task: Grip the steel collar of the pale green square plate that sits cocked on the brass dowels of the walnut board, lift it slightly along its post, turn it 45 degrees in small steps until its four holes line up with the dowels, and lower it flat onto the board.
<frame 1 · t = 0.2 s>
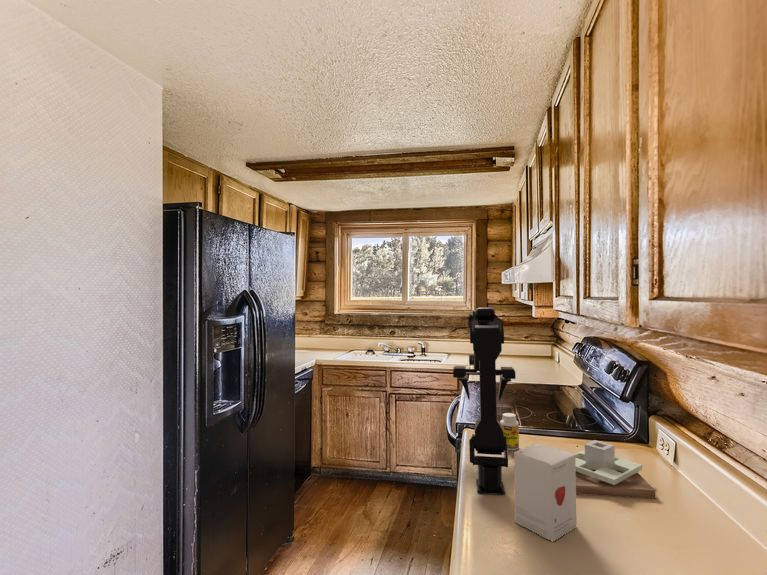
hand: (484, 399, 129), 15 cm above the worktop, tool pointing down, fingers open, 9 cm apart
supplement bottle: (509, 448, 128), on the worktop
walnut board: (600, 479, 106), on the worktop
supplement box: (545, 526, 85), on the worktop
flange plate: (599, 467, 106), point 3 cm above the worktop, touching walnut board
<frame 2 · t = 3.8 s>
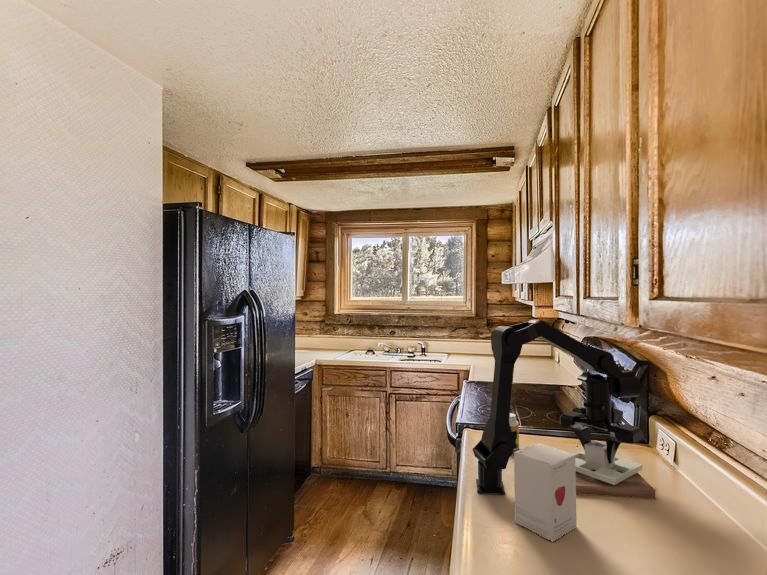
hand: (599, 459, 106), 5 cm above the worktop, tool pointing down, fingers closed on flange plate, 5 cm apart
flange plate: (599, 467, 106), point 3 cm above the worktop, touching gripper, walnut board
everything else where it was.
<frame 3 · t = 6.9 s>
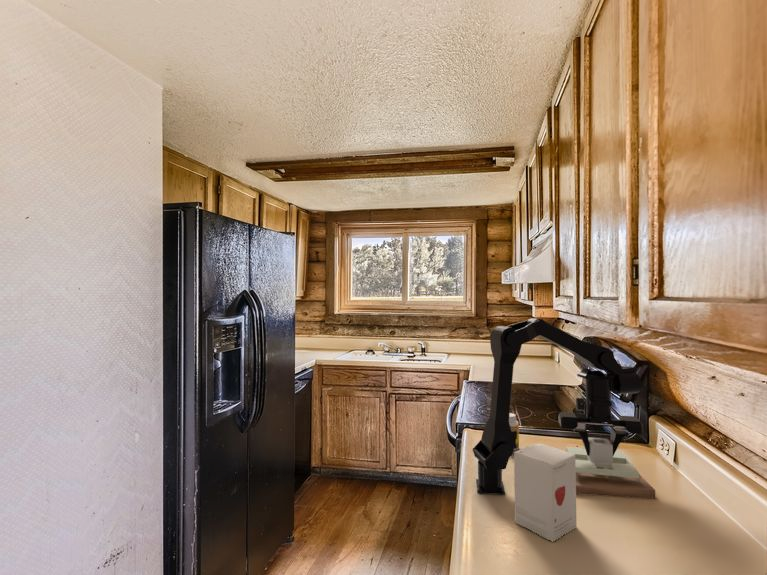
hand: (599, 456, 106), 6 cm above the worktop, tool pointing down, fingers closed on flange plate, 5 cm apart
flange plate: (599, 463, 106), point 4 cm above the worktop, touching gripper
everything else where it was.
when the fingers open (4 cm above the worktop, at t = 9.4 s): flange plate stays where it is, resting on walnut board.
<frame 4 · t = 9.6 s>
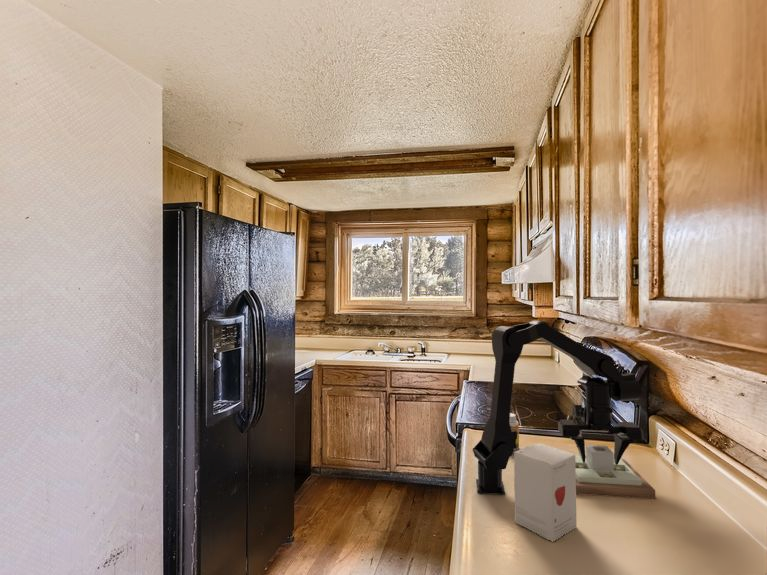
hand: (599, 463, 106), 4 cm above the worktop, tool pointing down, fingers open, 7 cm apart
flange plate: (599, 471, 106), point 2 cm above the worktop, touching walnut board
everything else where it was.
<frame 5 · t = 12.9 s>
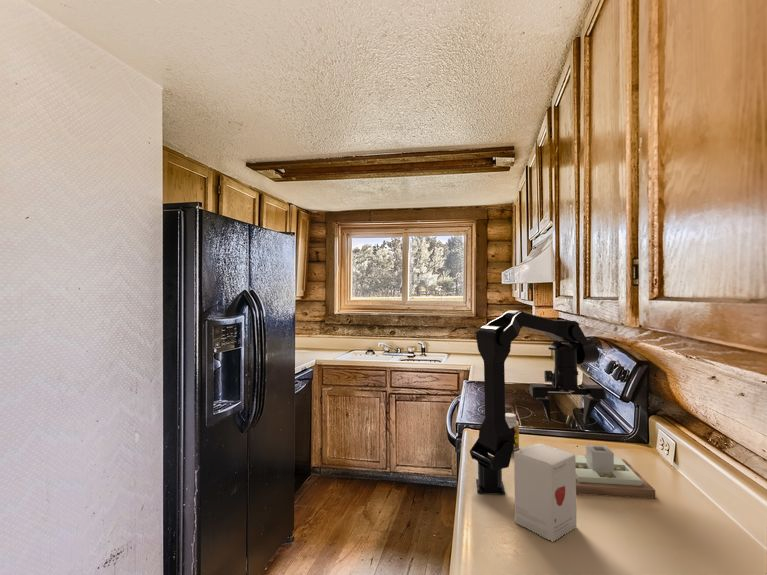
hand: (567, 422, 114), 12 cm above the worktop, tool pointing down, fingers open, 9 cm apart
nothing on the worktop moved.
at the end: flange plate point 2.0 cm above the worktop; flange plate 0.0 cm off-centre on the walnut board, point 2.0 cm above the walnut board's base; flange plate tilted 0° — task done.
